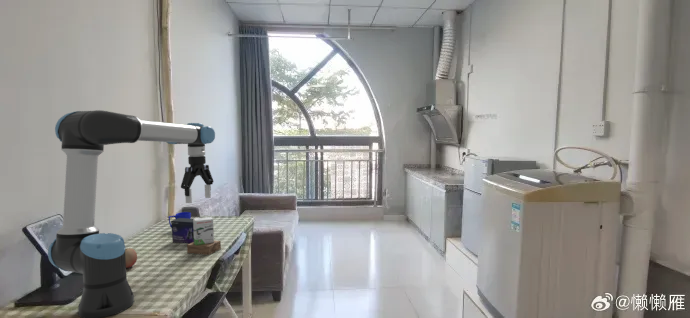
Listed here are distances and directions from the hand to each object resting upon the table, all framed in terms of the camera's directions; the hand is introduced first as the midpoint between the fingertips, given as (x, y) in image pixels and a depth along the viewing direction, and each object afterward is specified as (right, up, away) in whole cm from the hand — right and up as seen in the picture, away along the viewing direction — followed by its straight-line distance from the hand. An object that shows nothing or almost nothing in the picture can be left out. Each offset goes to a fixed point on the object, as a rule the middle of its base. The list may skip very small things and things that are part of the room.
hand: (198, 200), depth 169 cm
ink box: (+2, -21, +2) cm, 21 cm away
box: (-12, -24, +17) cm, 32 cm away
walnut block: (+2, -25, +2) cm, 25 cm away
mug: (-27, -23, +40) cm, 54 cm away
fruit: (-23, -27, -18) cm, 40 cm away
